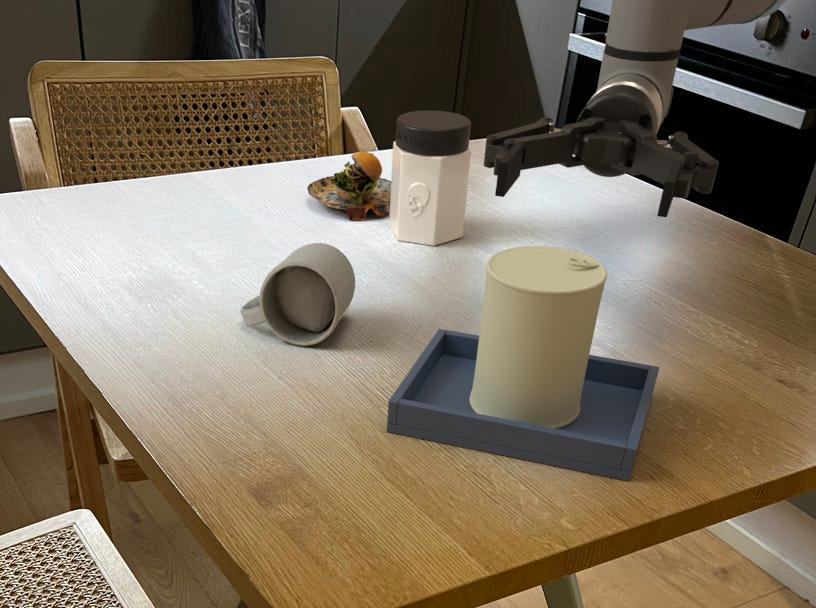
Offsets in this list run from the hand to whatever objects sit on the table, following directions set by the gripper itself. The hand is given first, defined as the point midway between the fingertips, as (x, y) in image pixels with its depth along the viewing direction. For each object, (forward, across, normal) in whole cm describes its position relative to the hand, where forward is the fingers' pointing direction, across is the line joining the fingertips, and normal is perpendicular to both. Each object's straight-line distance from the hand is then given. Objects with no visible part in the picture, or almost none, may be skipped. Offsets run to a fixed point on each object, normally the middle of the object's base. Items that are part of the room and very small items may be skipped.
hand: (581, 189), depth 80 cm
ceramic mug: (+4, +24, -15) cm, 29 cm away
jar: (-26, +20, -14) cm, 36 cm away
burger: (-32, +31, -14) cm, 47 cm away
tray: (+12, 0, -15) cm, 19 cm away
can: (+12, 0, -14) cm, 18 cm away
